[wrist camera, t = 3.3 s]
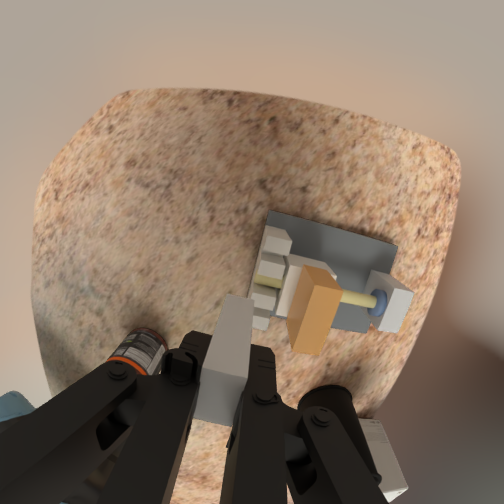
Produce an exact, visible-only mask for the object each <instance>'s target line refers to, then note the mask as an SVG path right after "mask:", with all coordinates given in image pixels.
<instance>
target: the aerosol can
mask: <svg viewBox="0 0 504 504" xmlns="http://www.w3.org/2000/svg"><path fill="white" fill-rule="evenodd" d="M313 406H320V407H324V408H327V409H329V410H331V411H332V412H334V414H335V415H336V416H337V417H338V419H339V420H340V422H341V424H342V426H343V427H344V429H345V431H346V432H347V434H348V436H349V437H350V439H351V441H352V442H353V444H354V446H355V448H356V449H357V451H358V453H359V454H360V456H361V458H362V459H363V461H364V463H365V464H366V466H367V468H368V469H369V471H370V473H371V474H372V476H373V478H374V479H375V481H376V483H377V484H378V486H379V484H380V483H381V481H382V476H381V475H380V474H379V473H378V472H377V469H376V466H375V463H374V460H373V458H372V455H371V452H370V449H369V446H368V444H367V441H366V438H365V435H364V433H363V430H362V427H361V424H360V422H359V419H358V416H357V414H356V411H355V408H354V406H353V403H352V396H351V393H350V392H349V391H348V390H347V389H346V388H344V387H342V386H337V385H328V386H323V387H319V388H316V389H314V390H312V391H310V392H309V393H307V394H306V395H305V396H304V397H303V398H302V399H301V400H300V402H299V404H298V409H297V410H299V411H302V412H304V411H305V410H306V409H307V408H309V407H313Z"/></svg>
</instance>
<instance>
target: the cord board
mask: <svg viewBox="0 0 504 504" xmlns="http://www.w3.org/2000/svg"><path fill="white" fill-rule="evenodd" d="M397 249H398V246H396V245H393V244H391V243H388V242H384V241H381V240H378V239H374V238H371V237H368V236H364V235H361V234H358V233H354V232H351V231H347V230H344V229H340V228H337V227H333V226H330V225H326V224H322V223H319V222H315V221H311V220H308V219H304V218H300V217H296V216H292V215H289V214H285V213H281V212H277V211H273V210H269V211H268V215H267V219H266V223H265V227H264V231H263V235H262V239H261V243H260V247H259V251H258V255H257V259H256V263H255V267H254V271H253V275H252V279H251V283H250V287H249V291H248V295H247V298H249V299H253V300H255V301H254V312H253V324H252V328H255V329H259V330H264V331H267V328H268V325H269V321H270V316H274V317H279V318H283V319H287V317H284V316H279V315H276V313H275V301H276V291H275V288H279V289H281V287H282V283H283V280H284V275H283V274H284V270H285V266H286V265H285V262H284V256H289V254H293V255H297V256H302V257H306V258H310V259H314V260H318V261H322V262H325V263H326V264H327V265H328V266H329V267H330V268H331V270H332V271H333V272H334V273H335V274H336V275H337V278H336V282H337V283H338V284H339V286H340V287H341V288H342V290H343V291H344V292H343V295H342V297H341V300H340V303H339V306H338V309H337V311H336V314H335V317H334V319H333V322H332V324H331V327H330V328H335V329H341V330H347V331H353V332H359V333H367V331H368V328H369V326H370V324H371V322H372V324H373V325H374V326H375V328H376V329H377V330H379V331H385V332H392V333H398V331H399V329H400V327H401V325H402V322H403V320H404V318H405V315H406V313H407V310H408V308H409V306H410V303H411V300H412V298H413V295H414V292H413V291H412V290H410V289H409V288H408V287H406V286H405V285H403V284H402V283H401V282H399V281H398V280H397V279H395V278H394V277H392V276H391V275H390V271H391V268H392V265H393V261H394V258H395V255H396V252H397Z"/></svg>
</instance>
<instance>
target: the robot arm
mask: <svg viewBox="0 0 504 504" xmlns="http://www.w3.org/2000/svg"><path fill="white" fill-rule="evenodd" d="M254 301H255V300H253V299H249V298H244V297H240V296H236V295H232V294H228V293H227V296H226V298H225V301H224V304H223V307H222V310H221V313H220V316H219V319H218V322H217V325H216V328H215V331H214V334H213V336H212V335H208V334H205V333H201V332H197V331H193V330H192V331H191V332H189V333H187V334H186V335H185V336H184V338H183V340H182V343H181V344H180V346H179V348H176V349H170V350H167V351H165V352H164V353H163V354H162V363H161V374H158V375H142V374H137V372H136V370H135V369H134V367H133V366H131V365H130V364H129V363H126V362H124V361H118V360H112V361H108V362H105V363H103V364H102V365H100V366H99V367H97V368H96V369H94V370H93V371H92V372H90V373H89V374H87V375H86V376H84V377H83V378H81V379H80V380H78V381H77V382H75V383H74V384H73V385H71V386H70V387H68V388H67V389H65V390H64V391H62V392H61V393H59V394H58V395H56V396H55V397H53V398H52V399H51V400H49V401H48V402H46V403H45V404H43V405H42V406H40V407H39V408H34V407H33V405H31V403H30V402H29V401H28V400H27V399H26V398H25V397H24V396H23V395H22V394H21V393H19V392H17V391H10V392H8V393H6V394H4V395H3V396H1V397H0V504H169V503H170V500H171V496H172V493H173V489H174V486H175V482H176V478H177V475H178V471H179V468H180V464H181V461H182V457H183V454H184V450H185V447H186V443H187V440H188V436H189V433H190V429H191V424H192V419H193V418H195V419H199V420H203V421H207V422H211V423H216V424H220V425H225V426H230V427H232V431H231V434H230V437H229V440H228V443H227V445H226V448H228V450H227V457H226V463H225V470H224V477H223V484H222V490H221V497H220V504H287V485H288V488H289V490H290V493H291V496H292V499H293V502H294V504H389V503H388V501H387V499H386V498H385V496H384V494H383V493H382V491H381V489H380V488H379V486H378V484H377V483H376V481H375V479H374V478H373V476H372V474H371V473H370V471H369V469H368V468H367V466H366V464H365V463H364V461H363V459H362V458H361V456H360V454H359V453H358V451H357V449H356V448H355V446H354V444H353V442H352V441H351V439H350V437H349V436H348V434H347V432H346V431H345V429H344V427H343V426H342V424H341V422H340V420H339V419H338V417H337V416H336V415H335V414H334V412H332V411H331V410H329V409H327V408H324V407H320V406H313V407H309V408H307V409H306V410H305V411H304V412H302V411H299V410H296V409H294V408H291V407H289V406H287V405H286V404H284V403H283V402H282V399H281V396H280V395H279V394H278V393H277V385H276V370H275V369H276V365H275V355H274V353H273V352H272V350H271V348H268V347H263V346H258V345H254V344H251V335H252V324H253V312H254ZM232 424H233V426H232Z"/></svg>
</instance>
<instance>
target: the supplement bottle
mask: <svg viewBox="0 0 504 504" xmlns="http://www.w3.org/2000/svg"><path fill="white" fill-rule="evenodd" d="M167 350H168V349H167V346H166V343H165V341H164V340H163V339H162V337H161V336H160V335H158V334H157V333H156V332H154V331H152V330H150V329H146V328H138V329H135V330H133V331H132V332H131V333H130V334H129V335H128V336H127V337H126V338H125V339H124V340H123V342H122V343H121V344H120V345H119V346H118V348H117V349H116V350H115V351H114V352H113V354H112V355H111V356H110V357H109V358H108V360H107V361H106V362H108V361H112V360H118V361H124V362H126V363H129V364H130V365H131V366H133V367H134V369H135V370H136V372H137V374H142V375H158V374H159V372H160V370H161V363H162V354H163V353H164V352H165V351H167Z"/></svg>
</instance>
